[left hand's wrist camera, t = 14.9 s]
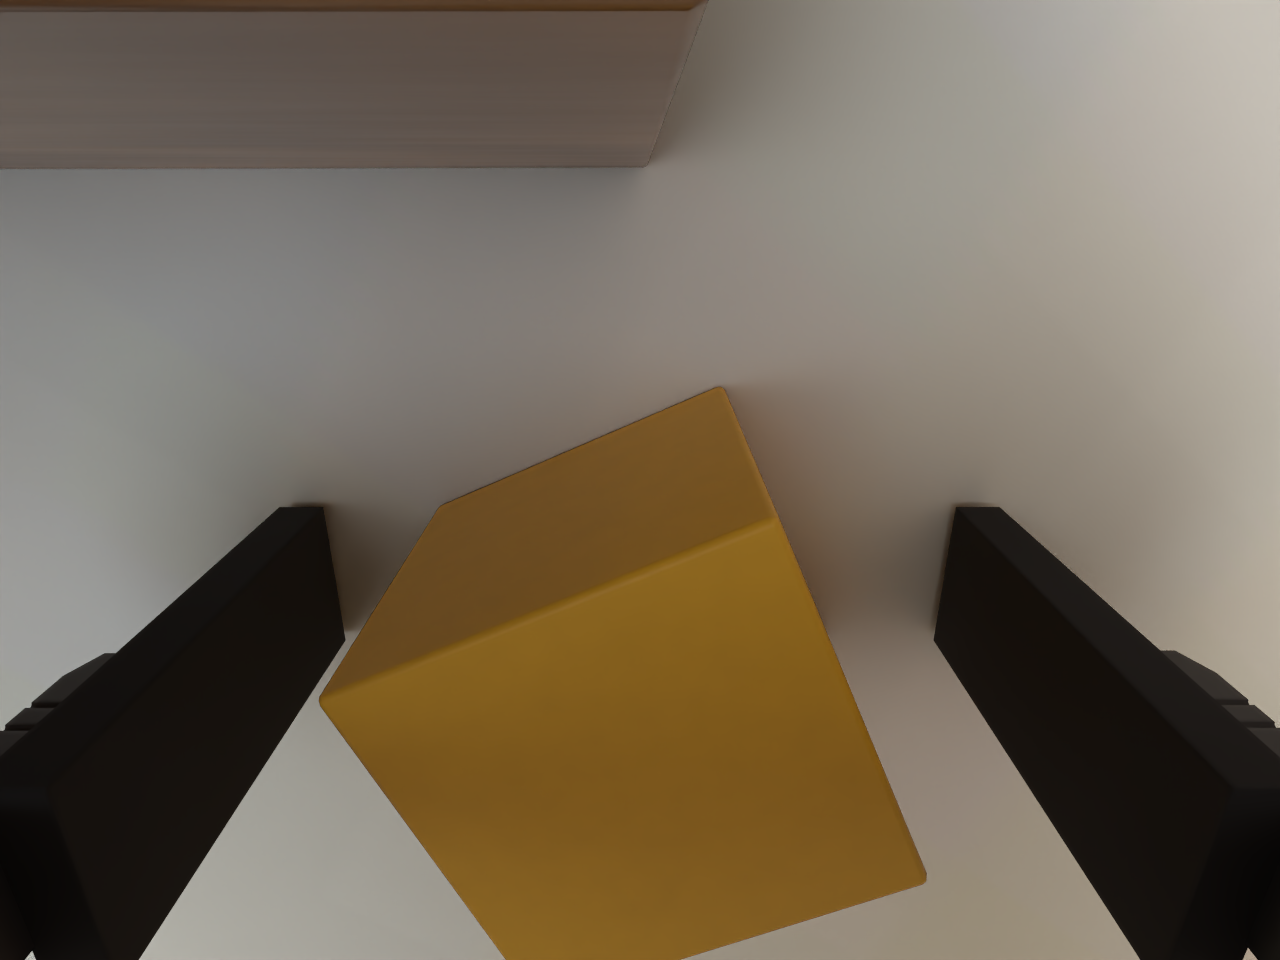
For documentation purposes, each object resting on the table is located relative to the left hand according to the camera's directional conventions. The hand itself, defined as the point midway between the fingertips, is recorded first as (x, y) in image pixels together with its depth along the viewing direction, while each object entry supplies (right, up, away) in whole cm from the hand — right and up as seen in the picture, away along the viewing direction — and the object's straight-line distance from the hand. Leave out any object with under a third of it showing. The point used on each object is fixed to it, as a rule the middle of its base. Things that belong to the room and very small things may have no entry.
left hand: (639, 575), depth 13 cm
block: (0, 0, 0) cm, 0 cm away
